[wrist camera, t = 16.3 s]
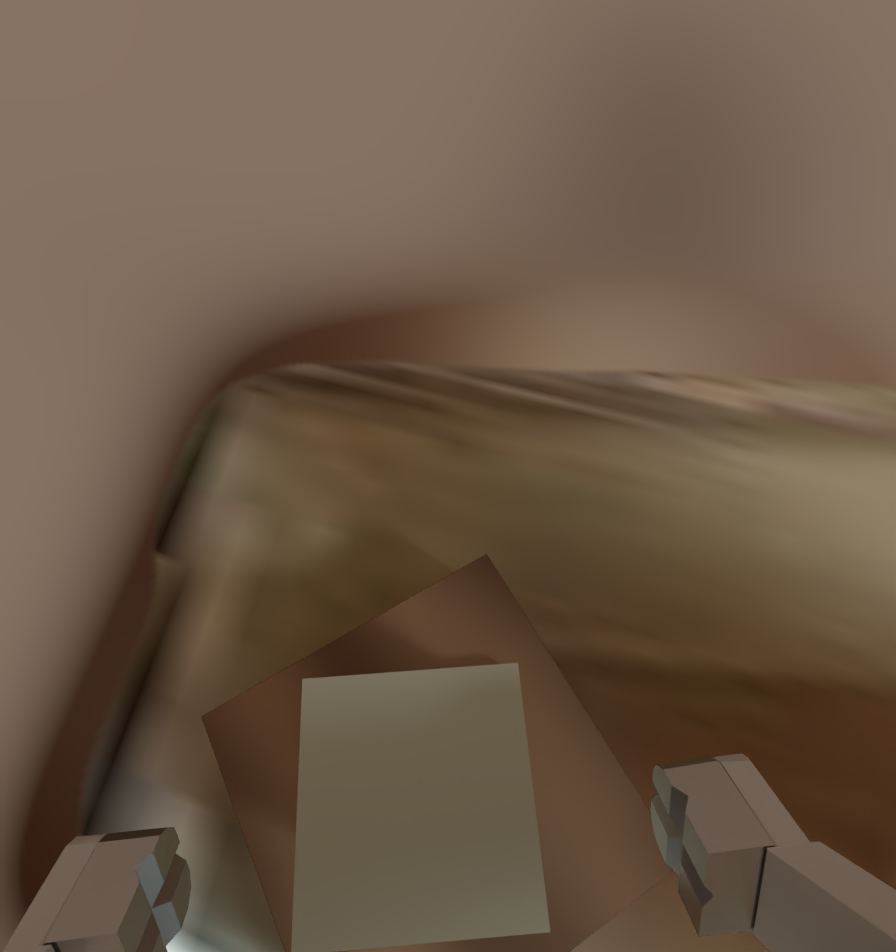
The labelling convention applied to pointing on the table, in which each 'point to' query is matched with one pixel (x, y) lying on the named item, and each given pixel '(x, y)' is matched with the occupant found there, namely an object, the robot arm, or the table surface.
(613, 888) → the walnut riser
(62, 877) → the robot arm
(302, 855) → the sage block
